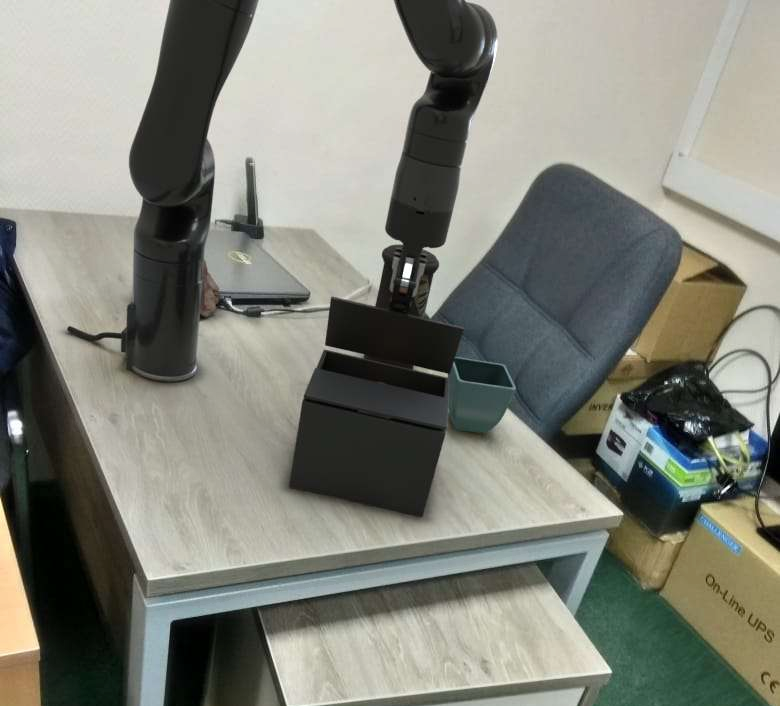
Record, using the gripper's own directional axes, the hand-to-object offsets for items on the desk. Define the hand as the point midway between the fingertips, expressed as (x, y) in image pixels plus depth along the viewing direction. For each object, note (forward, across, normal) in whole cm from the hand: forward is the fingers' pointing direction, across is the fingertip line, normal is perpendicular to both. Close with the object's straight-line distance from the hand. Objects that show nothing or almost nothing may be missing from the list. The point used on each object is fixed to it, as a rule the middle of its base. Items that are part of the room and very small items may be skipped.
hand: (393, 335), depth 105 cm
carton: (+16, +8, 0) cm, 18 cm away
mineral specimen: (+16, -32, -38) cm, 52 cm away
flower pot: (+16, -12, +14) cm, 24 cm away
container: (+16, -26, 0) cm, 30 cm away
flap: (0, +2, 0) cm, 2 cm away
